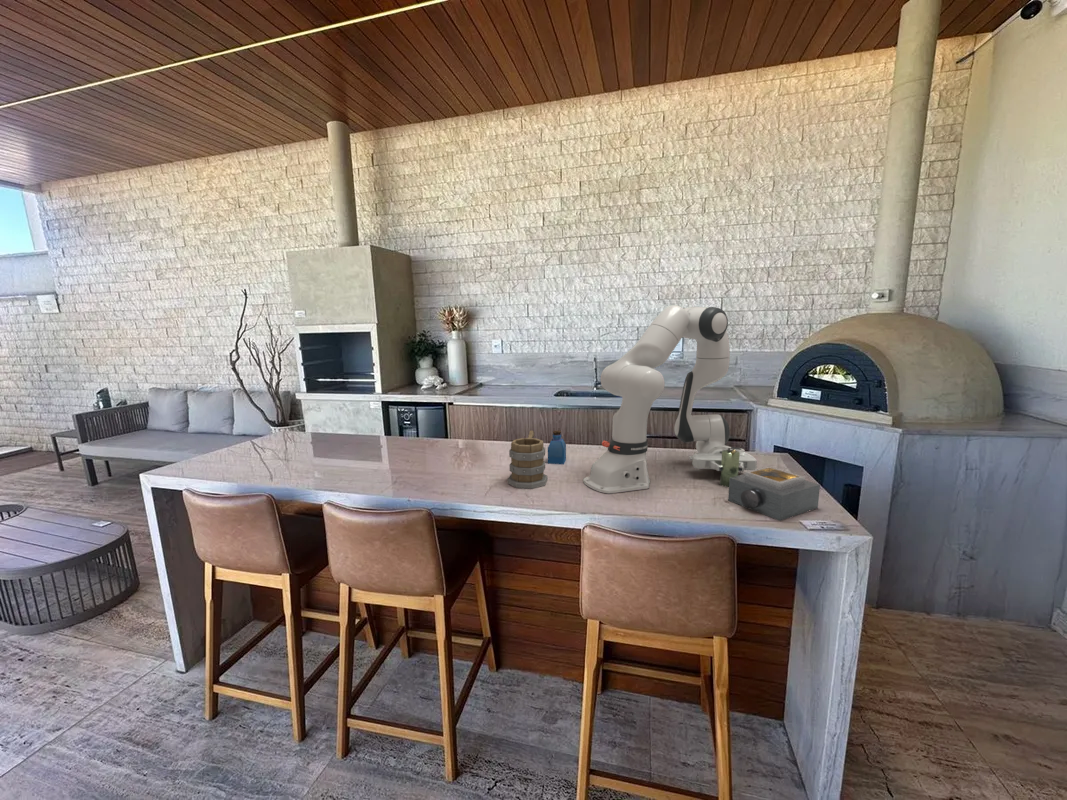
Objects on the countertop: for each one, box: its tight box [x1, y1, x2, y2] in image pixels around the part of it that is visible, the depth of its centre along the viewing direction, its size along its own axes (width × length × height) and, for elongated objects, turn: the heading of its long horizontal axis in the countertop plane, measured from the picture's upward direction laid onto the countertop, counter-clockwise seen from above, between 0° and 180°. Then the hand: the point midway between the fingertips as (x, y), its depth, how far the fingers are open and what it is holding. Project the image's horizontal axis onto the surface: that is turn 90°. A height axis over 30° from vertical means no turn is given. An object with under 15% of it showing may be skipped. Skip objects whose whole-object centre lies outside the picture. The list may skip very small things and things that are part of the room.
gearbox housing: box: [727, 466, 821, 522], centre depth 126 cm, size 19×16×9 cm
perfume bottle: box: [547, 429, 567, 465], centre depth 168 cm, size 6×6×12 cm
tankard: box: [507, 430, 548, 490], centre depth 149 cm, size 20×13×15 cm, turn 170°
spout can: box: [719, 448, 740, 488], centre depth 142 cm, size 6×5×13 cm
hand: (730, 469), depth 141 cm, fingers closed on spout can, 5 cm apart
